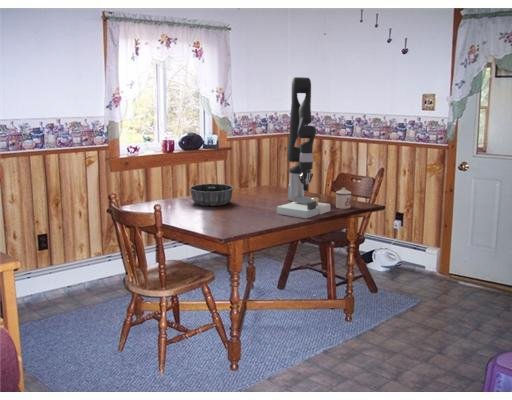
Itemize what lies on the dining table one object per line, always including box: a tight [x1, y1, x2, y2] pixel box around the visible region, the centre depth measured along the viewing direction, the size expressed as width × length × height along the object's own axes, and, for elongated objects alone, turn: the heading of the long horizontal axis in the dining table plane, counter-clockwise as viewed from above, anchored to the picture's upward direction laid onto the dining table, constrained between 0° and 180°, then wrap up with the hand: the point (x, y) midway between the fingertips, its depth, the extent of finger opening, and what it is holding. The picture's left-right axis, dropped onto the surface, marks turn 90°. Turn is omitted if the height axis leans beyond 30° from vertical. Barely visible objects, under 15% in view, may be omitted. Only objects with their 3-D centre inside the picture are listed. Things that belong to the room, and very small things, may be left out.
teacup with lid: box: [335, 187, 352, 210], centre depth 364 cm, size 12×9×12 cm
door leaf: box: [276, 202, 319, 219], centre depth 344 cm, size 19×13×4 cm
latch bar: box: [294, 195, 320, 205], centre depth 351 cm, size 14×4×4 cm, turn 54°
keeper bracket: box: [307, 201, 316, 210], centre depth 339 cm, size 2×6×4 cm, turn 144°
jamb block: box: [291, 201, 331, 215], centre depth 354 cm, size 20×11×4 cm, turn 54°
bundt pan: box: [189, 183, 235, 207], centre depth 371 cm, size 26×26×10 cm
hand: (305, 190), depth 357 cm, fingers closed
